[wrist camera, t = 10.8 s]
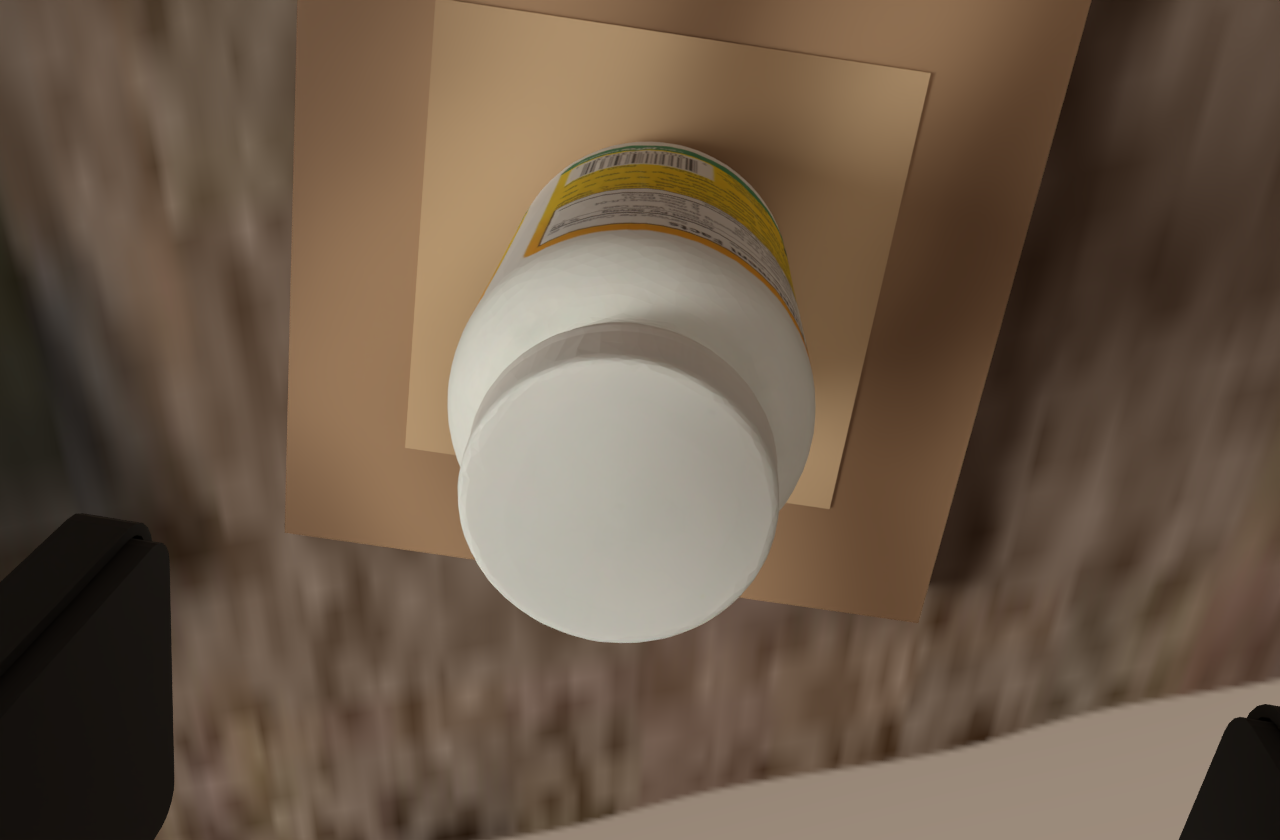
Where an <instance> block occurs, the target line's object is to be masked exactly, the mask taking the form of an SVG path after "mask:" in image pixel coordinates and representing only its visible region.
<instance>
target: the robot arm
mask: <svg viewBox="0 0 1280 840" xmlns="http://www.w3.org/2000/svg"><path fill="white" fill-rule="evenodd" d="M173 791H174V746H173V701H172V656H171V611H170V566H169V553H168V550H167V547H166V546H165V545H164V544H163V543H159V542H153V541H152V539H151V534H150V532H149V529H148V527H147V526H146V525H144V524H143V523H139V522H133V521H127V520H120V519H114V518H108V517H102V516H96V515H89V514H83V513H82V514H75V515H73V516H72V517H70V518H69V519H67V520H66V521H65V522H64V523H63V524H62V525H61V526H60V527H59V528H58V529H57V530H56V531H54V532H53V533H52V534H51V535H50V536H49V537H48V538H47V539H46V540H45V541H44V542H43V543H42V544H41V545H40V546H38V547H37V548H36V549H35V550H34V551H33V552H32V553H31V554H30V555H29V556H28V557H27V558H26V559H25V560H24V561H22V562H21V563H20V564H19V565H18V566H17V567H16V568H15V569H14V570H13V571H12V572H11V573H10V574H9V575H8V576H6V577H5V578H4V579H3V580H2V581H1V582H0V840H154V839H155V837H156V835H157V834H158V832H159V830H160V829H161V827H162V825H163V823H164V821H165V819H166V816H167V814H168V811H169V808H170V805H171V801H172V796H173ZM1179 840H1280V706H1273V705H1267V704H1264V705H1260V706H1257V707H1256V708H1255V709H1254V710H1252V711H1251V712H1250V713H1249V715H1248V717H1247V718H1243V717H1239V718H1235V719H1233V720H1232V721H1231V722H1230V723H1229V724H1228V726H1227V728H1226V730H1225V731H1224V734H1223V736H1222V739H1221V741H1220V743H1219V746H1218V748H1217V751H1216V753H1215V755H1214V757H1213V760H1212V762H1211V765H1210V767H1209V769H1208V772H1207V774H1206V777H1205V779H1204V781H1203V784H1202V786H1201V788H1200V791H1199V793H1198V795H1197V798H1196V800H1195V803H1194V805H1193V808H1192V810H1191V812H1190V814H1189V817H1188V819H1187V821H1186V824H1185V826H1184V829H1183V831H1182V833H1181V836H1180V838H1179Z"/></svg>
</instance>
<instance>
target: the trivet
mask: <svg viewBox="0 0 1280 840" xmlns="http://www.w3.org/2000/svg"><path fill="white" fill-rule="evenodd" d="M1091 1H1092V0H297V40H296V82H295V124H294V166H293V208H292V250H291V292H290V334H289V376H288V418H287V460H286V502H285V533H292V534H299V535H306V536H313V537H320V538H327V539H334V540H341V541H348V542H355V543H362V544H369V545H376V546H383V547H390V548H397V549H404V550H411V551H418V552H425V553H432V554H439V555H446V556H453V557H460V558H467V559H474V560H475V558H474V556H473V554H472V553H471V551H470V548H469V546H468V544H467V541H466V539H465V536H464V533H463V529H462V526H461V521H460V514H459V508H458V477H459V471H460V465H459V463H458V460H457V457H456V454H455V450H454V447H453V444H452V439H451V434H450V429H449V422H448V383H449V377H450V372H451V366H452V362H453V359H454V355H455V351H456V348H457V346H458V343H459V340H460V338H461V335H462V333H463V330H464V328H465V326H466V324H467V322H468V320H469V318H470V317H471V315H472V313H473V311H474V309H475V308H476V306H477V304H478V302H479V300H480V298H481V296H482V294H483V293H484V291H485V289H486V287H487V285H488V284H489V282H490V280H491V278H492V276H493V275H494V273H495V271H496V269H497V267H498V265H499V263H500V261H501V259H502V258H503V256H504V254H505V252H506V250H507V248H508V246H509V244H510V242H511V240H512V238H513V237H514V235H515V233H516V231H517V229H518V227H519V225H520V223H521V221H522V219H523V217H524V215H525V214H526V212H527V211H528V209H529V207H530V206H531V204H532V203H533V201H534V200H535V198H536V197H537V195H538V194H539V193H540V191H541V190H542V189H543V188H544V187H545V186H546V185H547V184H548V183H549V182H550V180H552V179H553V178H554V177H555V176H556V175H557V174H558V173H560V172H561V171H562V170H563V169H565V168H566V167H567V166H569V165H570V164H572V163H573V162H575V161H577V160H579V159H581V158H583V157H584V156H587V155H589V154H591V153H593V152H596V151H598V150H601V149H604V148H607V147H610V146H614V145H619V144H625V143H632V142H664V143H670V144H677V145H681V146H685V147H688V148H692V149H695V150H698V151H700V152H702V153H705V154H707V155H709V156H711V157H713V158H715V159H717V160H719V161H720V162H722V163H724V164H726V165H727V166H728V167H730V168H731V169H733V170H734V171H735V172H737V173H738V174H739V175H740V176H741V177H742V178H744V179H745V180H746V181H747V182H748V183H749V184H750V185H751V186H752V187H753V188H754V189H755V191H756V192H757V193H758V194H759V195H760V197H761V198H762V199H763V201H764V202H765V204H766V205H767V207H768V208H769V210H770V211H771V213H772V215H773V217H774V219H775V221H776V223H777V225H778V228H779V231H780V234H781V236H782V239H783V243H784V247H785V250H786V253H787V258H788V263H789V268H790V273H791V278H792V283H793V288H794V292H795V296H796V301H797V305H798V309H799V314H800V318H801V322H802V327H803V332H804V336H805V339H806V345H807V349H808V354H809V359H810V363H811V368H812V373H813V380H814V387H815V404H816V408H815V425H814V434H813V439H812V443H811V447H810V451H809V455H808V458H807V461H806V464H805V467H804V470H803V472H802V474H801V476H800V478H799V480H798V482H797V484H796V486H795V488H794V490H793V492H792V494H791V495H790V497H789V499H788V500H787V502H786V503H785V505H784V506H783V507H782V509H781V510H780V511H779V515H778V522H777V526H776V531H775V537H774V540H773V543H772V545H771V548H770V551H769V553H768V556H767V558H766V560H765V562H764V564H763V565H762V567H761V569H760V571H759V572H758V574H757V576H756V577H755V579H754V581H753V582H752V583H751V584H750V585H749V586H748V588H747V589H746V590H745V591H744V592H743V594H742V595H741V596H740V598H747V599H754V600H761V601H768V602H775V603H782V604H789V605H796V606H803V607H810V608H817V609H824V610H831V611H838V612H845V613H852V614H859V615H866V616H873V617H880V618H887V619H894V620H901V621H908V622H915V623H918V622H919V618H920V615H921V611H922V608H923V604H924V600H925V597H926V593H927V590H928V586H929V582H930V579H931V575H932V572H933V568H934V564H935V561H936V557H937V554H938V550H939V547H940V543H941V539H942V536H943V532H944V529H945V525H946V521H947V518H948V514H949V511H950V507H951V503H952V500H953V496H954V493H955V489H956V485H957V482H958V478H959V475H960V471H961V468H962V464H963V460H964V457H965V453H966V450H967V446H968V442H969V439H970V435H971V432H972V428H973V424H974V421H975V417H976V414H977V410H978V406H979V403H980V399H981V396H982V392H983V389H984V385H985V381H986V378H987V374H988V371H989V367H990V363H991V360H992V356H993V353H994V349H995V345H996V342H997V338H998V335H999V331H1000V327H1001V324H1002V320H1003V317H1004V313H1005V310H1006V306H1007V302H1008V299H1009V295H1010V292H1011V288H1012V284H1013V281H1014V277H1015V274H1016V270H1017V266H1018V263H1019V259H1020V256H1021V252H1022V248H1023V245H1024V241H1025V238H1026V234H1027V231H1028V227H1029V223H1030V220H1031V216H1032V213H1033V209H1034V205H1035V202H1036V198H1037V195H1038V191H1039V187H1040V184H1041V180H1042V177H1043V173H1044V169H1045V166H1046V162H1047V159H1048V155H1049V152H1050V148H1051V144H1052V141H1053V137H1054V134H1055V130H1056V126H1057V123H1058V119H1059V116H1060V112H1061V108H1062V105H1063V101H1064V98H1065V94H1066V90H1067V87H1068V83H1069V80H1070V76H1071V73H1072V69H1073V65H1074V62H1075V58H1076V55H1077V51H1078V47H1079V44H1080V40H1081V37H1082V33H1083V29H1084V26H1085V22H1086V19H1087V15H1088V11H1089V8H1090V4H1091Z"/></svg>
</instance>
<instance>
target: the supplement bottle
mask: <svg viewBox="0 0 1280 840" xmlns="http://www.w3.org/2000/svg"><path fill="white" fill-rule="evenodd" d="M815 408H816V404H815V387H814V380H813V373H812V368H811V363H810V359H809V354H808V349H807V345H806V339H805V336H804V332H803V327H802V322H801V318H800V314H799V309H798V305H797V301H796V296H795V292H794V288H793V283H792V278H791V273H790V268H789V263H788V258H787V253H786V250H785V247H784V243H783V239H782V236H781V234H780V231H779V228H778V225H777V223H776V221H775V219H774V217H773V215H772V213H771V211H770V210H769V208H768V207H767V205H766V204H765V202H764V201H763V199H762V198H761V197H760V195H759V194H758V193H757V192H756V191H755V189H754V188H753V187H752V186H751V185H750V184H749V183H748V182H747V181H746V180H745V179H744V178H742V177H741V176H740V175H739V174H738V173H737V172H735V171H734V170H733V169H731V168H730V167H728V166H727V165H726V164H724V163H722V162H720V161H719V160H717V159H715V158H713V157H711V156H709V155H707V154H705V153H702V152H700V151H698V150H695V149H692V148H688V147H685V146H681V145H677V144H670V143H664V142H632V143H625V144H619V145H614V146H610V147H607V148H604V149H601V150H598V151H596V152H593V153H591V154H589V155H587V156H584V157H583V158H581V159H579V160H577V161H575V162H573V163H572V164H570V165H569V166H567V167H566V168H565V169H563V170H562V171H561V172H560V173H558V174H557V175H556V176H555V177H554V178H553V179H552V180H550V182H549V183H548V184H547V185H546V186H545V187H544V188H543V189H542V190H541V191H540V193H539V194H538V195H537V197H536V198H535V200H534V201H533V203H532V204H531V206H530V207H529V209H528V211H527V212H526V214H525V215H524V217H523V219H522V221H521V223H520V225H519V227H518V229H517V231H516V233H515V235H514V237H513V238H512V240H511V242H510V244H509V246H508V248H507V250H506V252H505V254H504V256H503V258H502V259H501V261H500V263H499V265H498V267H497V269H496V271H495V273H494V275H493V276H492V278H491V280H490V282H489V284H488V285H487V287H486V289H485V291H484V293H483V294H482V296H481V298H480V300H479V302H478V304H477V306H476V308H475V309H474V311H473V313H472V315H471V317H470V318H469V320H468V322H467V324H466V326H465V328H464V330H463V333H462V335H461V338H460V340H459V343H458V346H457V348H456V351H455V355H454V359H453V362H452V366H451V372H450V377H449V383H448V422H449V429H450V434H451V439H452V444H453V447H454V450H455V454H456V457H457V460H458V463H459V465H460V471H459V477H458V508H459V514H460V521H461V526H462V529H463V533H464V536H465V539H466V541H467V544H468V546H469V548H470V551H471V553H472V554H473V556H474V558H475V560H476V562H477V564H478V565H479V567H480V568H481V570H482V571H483V573H484V574H485V576H486V577H487V578H488V580H489V581H490V582H491V583H492V584H493V585H494V587H495V588H496V589H497V590H498V591H499V592H500V593H501V594H502V595H503V596H504V597H505V598H506V599H507V600H509V601H510V602H511V603H512V604H514V605H515V606H516V607H517V608H519V609H520V610H522V611H523V612H525V613H526V614H527V615H529V616H530V617H532V618H534V619H536V620H537V621H539V622H541V623H543V624H545V625H547V626H550V627H552V628H554V629H557V630H559V631H562V632H564V633H567V634H570V635H573V636H577V637H581V638H584V639H588V640H593V641H599V642H616V643H638V642H645V641H652V640H659V639H664V638H668V637H671V636H674V635H677V634H680V633H683V632H686V631H688V630H691V629H693V628H695V627H697V626H699V625H702V624H704V623H706V622H707V621H709V620H710V619H712V618H713V617H715V616H717V615H718V614H720V613H721V612H722V611H724V610H725V609H726V608H728V607H729V606H730V605H731V604H732V603H733V602H734V601H735V600H736V599H738V598H739V597H740V596H741V595H742V594H743V592H744V591H745V590H746V589H747V588H748V586H749V585H750V584H751V583H752V582H753V581H754V579H755V577H756V576H757V574H758V572H759V571H760V569H761V567H762V565H763V564H764V562H765V560H766V558H767V556H768V553H769V551H770V548H771V545H772V543H773V540H774V537H775V531H776V526H777V522H778V515H779V511H780V510H781V509H782V507H783V506H784V505H785V503H786V502H787V500H788V499H789V497H790V495H791V494H792V492H793V490H794V488H795V486H796V484H797V482H798V480H799V478H800V476H801V474H802V472H803V470H804V467H805V464H806V461H807V458H808V455H809V451H810V447H811V443H812V439H813V434H814V425H815Z"/></svg>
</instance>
